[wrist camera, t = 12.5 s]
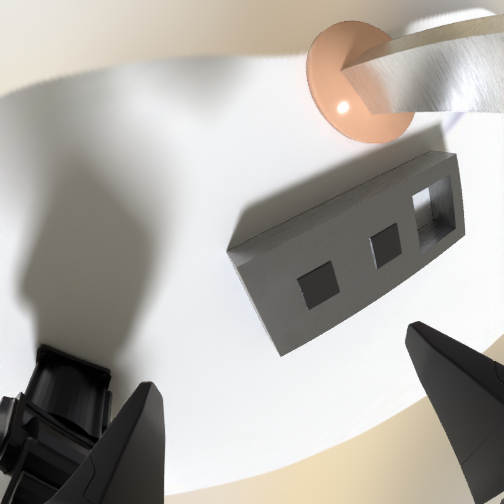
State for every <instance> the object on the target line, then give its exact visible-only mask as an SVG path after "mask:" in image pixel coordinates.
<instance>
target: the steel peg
mask: <svg viewBox="0 0 504 504" xmlns="http://www.w3.org/2000/svg"><path fill="white" fill-rule="evenodd" d="M341 72H342V74H343V75H344V76H345V78H346V79H347V80H348V82H349V83H350V84H351V86H352V87H353V89H354V90H355V91H356V93H357V94H358V96H359V97H360V98H361V100H362V101H363V103H364V104H365V106H366V107H367V109H368V110H369V112H370V113H371V115H375V114H388V113H405V112H434V111H463V112H490V113H504V14H502V15H494V16H488V17H482V18H476V19H471V20H466V21H461V22H456V23H452V24H447V25H443V26H439V27H435V28H431V29H428V30H424V31H420V32H417V33H413V34H410V35H407V36H403V37H400V38H397V39H394V40H391V41H388V42H385V43H382V44H379V45H376V46H374V47H371V48H370V49H368V50H367V51H366V52H364V53H363V54H361V55H360V56H359V57H357V58H356V59H355V60H354V61H352V62H351V63H350V64H348V65H347V66H346V67H344V68H343V69H342V70H341Z"/></svg>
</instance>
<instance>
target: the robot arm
mask: <svg viewBox="0 0 504 504" xmlns="http://www.w3.org/2000/svg"><path fill="white" fill-rule="evenodd" d="M405 345H406V348H407V350H408V352H409V355H410V357H411V360H412V362H413V365H414V367H415V370H416V372H417V375H418V377H419V380H420V382H421V384H422V386H423V388H424V390H425V392H426V394H427V395H428V397H429V399H430V401H431V403H432V405H433V407H434V409H435V411H436V413H437V415H438V418H439V420H440V422H441V423H442V426H443V428H444V430H445V432H446V434H447V436H448V439H449V441H450V443H451V445H452V447H453V450H454V452H455V454H456V456H457V459H458V461H459V464H460V465H461V469H462V471H463V474H464V476H465V478H466V481H467V483H468V486H469V488H470V491H471V494H472V496H473V499H474V502H475V504H484V503H486V502H487V501H489V500H491V499H492V498H494V497H496V496H497V495H499V494H500V493H502V492H503V491H504V365H502V364H500V363H498V362H496V361H493V360H492V359H491V358H489V357H487V356H485V355H483V354H481V353H479V352H477V351H476V350H474V349H472V348H470V347H468V346H466V345H464V344H462V343H460V342H459V341H457V340H455V339H453V338H451V337H449V336H447V335H445V334H443V333H441V332H439V331H438V330H436V329H434V328H432V327H430V326H428V325H426V324H424V323H422V322H420V321H417V322H414V323H411V324H409V326H408V329H407V334H406V339H405ZM42 350H44V351H45V352H44V351H42ZM104 374H107V375H104ZM110 380H111V371H110V370H108V369H106V368H103V367H100V366H97V365H94V364H92V363H89V362H86V361H84V360H81V359H78V358H76V357H73V356H71V355H68V354H66V353H63V352H61V351H58V350H56V349H53V348H51V347H49V346H47V345H44V344H40V345H39V347H38V349H37V358H36V367H35V369H34V371H33V374H32V376H31V379H30V381H29V384H28V386H27V389H26V391H25V394H23V393H22V392H20V393H19V394H18V396H17V397H16V398H13V397H12V398H10V397H5V396H3V398H2V399H1V401H0V504H164V464H165V424H164V409H163V398H162V395H161V393H160V392H159V390H158V389H157V387H156V386H155V384H154V383H153V382H151V381H149V382H142V383H140V384H139V386H138V387H137V388H136V390H135V391H134V392H133V394H132V395H131V397H130V398H129V399H128V401H127V402H126V403H125V405H124V406H123V407H122V409H121V410H120V412H119V413H118V414H117V416H116V417H115V418H114V420H113V421H112V423H111V424H110V414H111V403H112V393H111V391H108V386H109V383H110ZM500 504H504V499H502V500H501V503H500Z"/></svg>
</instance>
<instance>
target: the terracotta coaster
mask: <svg viewBox="0 0 504 504" xmlns="http://www.w3.org/2000/svg"><path fill="white" fill-rule="evenodd" d="M391 40H392V39H391V38H390V37H389V36H388V35H387V34H386V33H384V32H383V31H381V30H380V29H378V28H376V27H374V26H372V25H369V24H367V23H363V22H359V21H344V22H340V23H337V24H335V25H333V26H331V27H329V28H328V29H326V30H325V31H323V32H322V33H320V34H319V35H318V36H317V37H316V39H315V40H314V42H313V43H312V45H311V47H310V49H309V53H308V56H307V63H306V74H307V81H308V86H309V90H310V92H311V95H312V98H313V100H314V102H315V104H316V106H317V108H318V109H319V111H320V112H321V114H322V115H323V117H324V118H325V119H326V120H327V121H328V123H329V124H330V125H331V126H332V127H333V128H335V129H336V130H337V131H338V132H340V133H341V134H343V135H344V136H346V137H348V138H350V139H352V140H355V141H358V142H363V143H387V142H390V141H393V140H394V139H396V138H398V137H399V136H401V135H402V134H403V133H404V132H405V131H406V130H407V128H408V127H409V125H410V123H411V121H412V119H413V117H414V114H415V112H405V113H388V114H375V115H371V113H370V112H369V110H368V109H367V107H366V106H365V104H364V103H363V101H362V100H361V98H360V97H359V96H358V94H357V93H356V91H355V90H354V89H353V87H352V86H351V84H350V83H349V82H348V80H347V79H346V78H345V76H344V75H343V74H342V72H341V70H342V69H343V68H344V67H346V66H347V65H348V64H350V63H351V62H352V61H354V60H355V59H356V58H357V57H359V56H360V55H361V54H363V53H364V52H366V51H367V50H368V49H370V48H371V47H374V46H376V45H379V44H382V43H385V42H388V41H391Z"/></svg>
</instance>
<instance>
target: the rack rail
mask: <svg viewBox="0 0 504 504" xmlns="http://www.w3.org/2000/svg"><path fill="white" fill-rule="evenodd" d="M427 187H429V192H430V199H431V205H432V212H433V221H432V222H430V223H429V224H427V225H426V226H424V227H423V228H421V229H420V230H417V223H416V217H415V211H414V205H413V199H412V196H413V195H415V194H417V193H418V192H420V191H422V190H424V189H425V188H427ZM464 235H465V223H464V209H463V199H462V189H461V181H460V174H459V167H458V161H457V155H456V154H455V153H448V152H439V151H430V152H428V153H426V154H424V155H422V156H420V157H417V158H415V159H413V160H411V161H409V162H407V163H405V164H403V165H401V166H399V167H397V168H394V169H392V170H390V171H388V172H386V173H384V174H382V175H380V176H378V177H376V178H374V179H372V180H370V181H368V182H365V183H363V184H361V185H359V186H357V187H355V188H353V189H351V190H349V191H347V192H345V193H343V194H341V195H339V196H337V197H335V198H333V199H331V200H329V201H327V202H324V203H322V204H320V205H318V206H316V207H314V208H312V209H310V210H308V211H306V212H304V213H302V214H300V215H298V216H296V217H294V218H292V219H290V220H288V221H286V222H284V223H282V224H280V225H278V226H276V227H274V228H272V229H270V230H268V231H266V232H264V233H262V234H260V235H258V236H256V237H254V238H252V239H250V240H248V241H246V242H244V243H242V244H240V245H238V246H236V247H234V248H232V249H230V250H228V251H226V252H227V254H228V256H229V258H230V260H231V262H232V264H233V266H234V268H235V270H236V272H237V274H238V276H239V279H240V281H241V283H242V285H243V287H244V289H245V291H246V293H247V295H248V297H249V299H250V301H251V303H252V305H253V307H254V309H255V311H256V313H257V315H258V317H259V319H260V321H261V323H262V325H263V327H264V329H265V331H266V333H267V335H268V336H269V338H270V340H271V342H272V343H273V345H274V347H275V348H276V350H277V352H278V353H279V355H280V357H282V356H283V355H285V354H287V353H289V352H291V351H293V350H295V349H296V348H298V347H300V346H302V345H304V344H305V343H307V342H309V341H311V340H312V339H314V338H316V337H318V336H319V335H321V334H323V333H324V332H326V331H328V330H330V329H331V328H333V327H335V326H336V325H338V324H340V323H341V322H343V321H344V320H346V319H348V318H349V317H351V316H353V315H354V314H356V313H357V312H359V311H360V310H362V309H364V308H365V307H367V306H368V305H370V304H371V303H373V302H374V301H376V300H377V299H379V298H380V297H382V296H383V295H385V294H386V293H388V292H389V291H391V290H392V289H394V288H395V287H397V286H398V285H400V284H401V283H402V282H404V281H405V280H407V279H408V278H409V277H411V276H412V275H414V274H415V273H416V272H418V271H419V270H421V269H422V268H423V267H425V266H426V265H427V264H429V263H430V262H431V261H433V260H434V259H435V258H437V257H438V256H439V255H440V254H442V253H443V252H444V251H446V250H447V249H448V248H449V247H451V246H452V245H453V244H455V243H456V242H457V241H458V240H459V239H461V238H462V237H463V236H464Z"/></svg>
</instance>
